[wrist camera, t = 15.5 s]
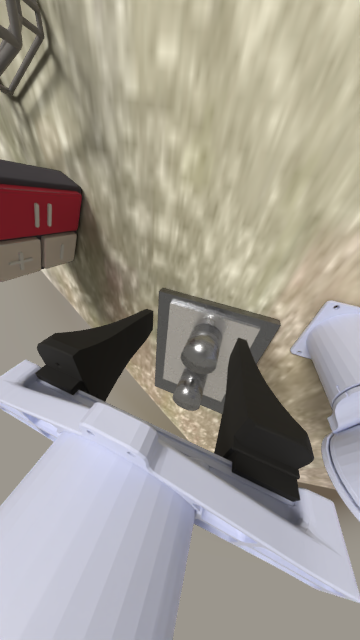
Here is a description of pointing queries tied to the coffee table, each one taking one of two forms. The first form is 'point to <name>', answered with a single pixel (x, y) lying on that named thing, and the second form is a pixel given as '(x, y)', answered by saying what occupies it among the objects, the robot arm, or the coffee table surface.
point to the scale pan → (178, 335)
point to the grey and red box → (36, 219)
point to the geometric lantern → (18, 40)
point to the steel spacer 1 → (202, 349)
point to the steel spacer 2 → (189, 390)
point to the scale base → (166, 296)
